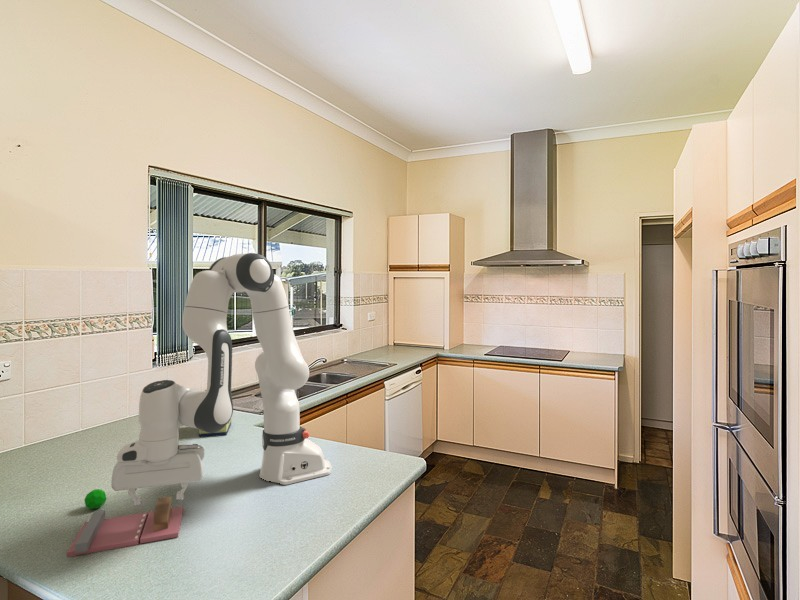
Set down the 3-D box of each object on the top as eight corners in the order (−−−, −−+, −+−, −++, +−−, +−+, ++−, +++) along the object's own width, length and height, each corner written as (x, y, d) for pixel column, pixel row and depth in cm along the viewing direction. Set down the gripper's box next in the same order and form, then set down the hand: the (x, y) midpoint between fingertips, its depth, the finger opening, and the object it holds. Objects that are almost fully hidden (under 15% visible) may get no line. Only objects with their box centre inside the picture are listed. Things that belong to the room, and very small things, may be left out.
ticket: (148, 514, 123) (148, 502, 122) (137, 546, 108) (137, 533, 107) (86, 523, 118) (85, 512, 118) (65, 559, 103) (65, 546, 103)
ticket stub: (183, 509, 124) (182, 489, 124) (178, 536, 111) (177, 514, 111) (149, 515, 122) (149, 494, 121) (140, 543, 109) (139, 520, 108)
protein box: (198, 437, 182) (197, 398, 181) (205, 425, 197) (204, 389, 196) (226, 435, 184) (226, 396, 183) (231, 423, 199) (230, 387, 199)
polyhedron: (102, 501, 130) (102, 484, 129) (109, 507, 126) (109, 489, 126) (82, 508, 126) (81, 491, 125) (88, 514, 123) (87, 496, 122)
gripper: (205, 439, 122) (205, 491, 122) (115, 447, 115) (115, 502, 116) (203, 447, 116) (203, 501, 117) (109, 456, 109) (109, 514, 110)
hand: (159, 502), depth 116 cm, fingers open, 8 cm apart
